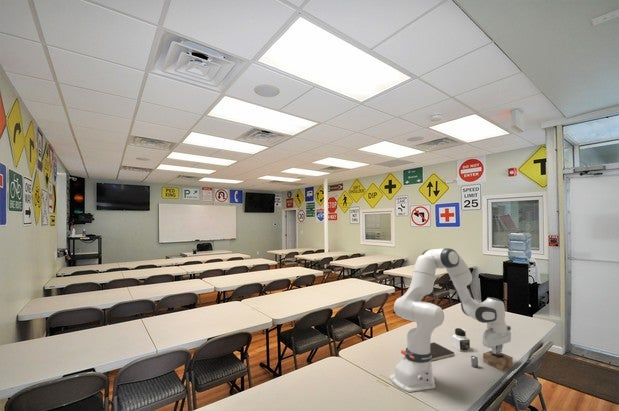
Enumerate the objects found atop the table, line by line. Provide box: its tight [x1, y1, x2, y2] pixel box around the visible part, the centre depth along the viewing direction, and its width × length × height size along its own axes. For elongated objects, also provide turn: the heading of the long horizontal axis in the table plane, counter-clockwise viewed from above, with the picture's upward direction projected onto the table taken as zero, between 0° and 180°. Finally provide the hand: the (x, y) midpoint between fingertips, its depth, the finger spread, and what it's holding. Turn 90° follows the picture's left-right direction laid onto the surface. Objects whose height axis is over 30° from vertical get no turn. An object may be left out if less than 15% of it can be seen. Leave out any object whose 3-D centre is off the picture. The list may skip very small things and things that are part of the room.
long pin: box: [494, 345, 502, 358], centre depth 154 cm, size 3×3×10 cm
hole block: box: [482, 350, 514, 372], centre depth 154 cm, size 10×10×5 cm
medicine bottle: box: [451, 327, 471, 352], centre depth 173 cm, size 7×7×12 cm
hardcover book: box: [405, 342, 455, 362], centre depth 167 cm, size 16×23×2 cm
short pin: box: [470, 355, 479, 369], centre depth 151 cm, size 3×3×5 cm
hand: (497, 352), depth 154 cm, fingers closed on long pin, 3 cm apart
